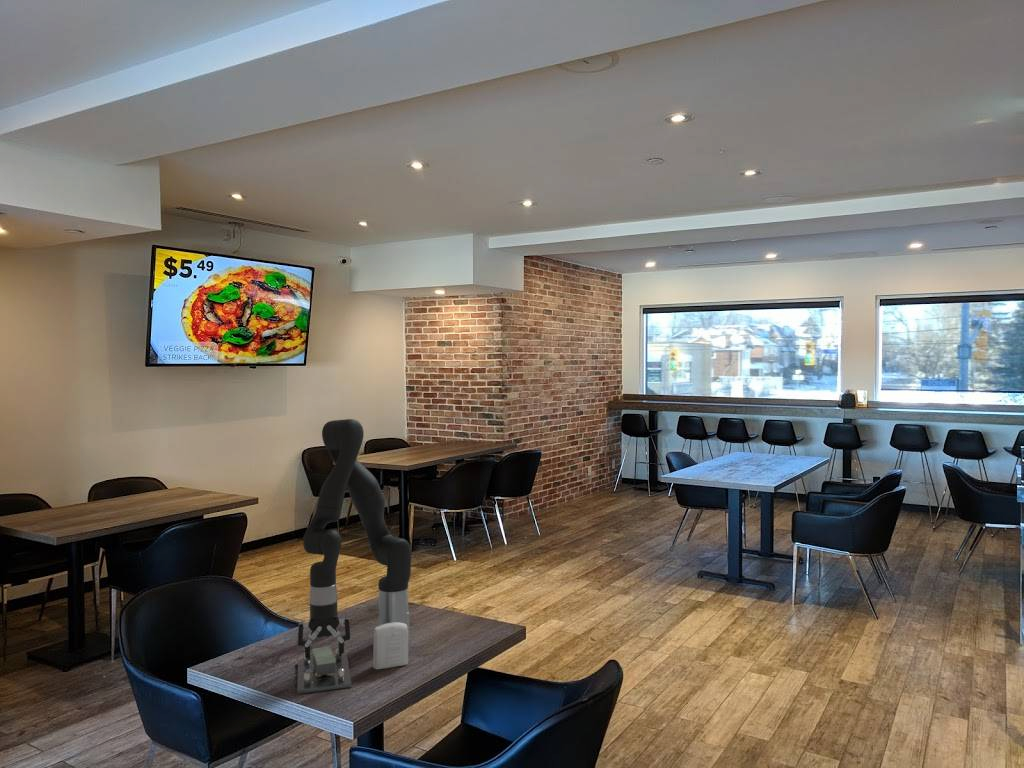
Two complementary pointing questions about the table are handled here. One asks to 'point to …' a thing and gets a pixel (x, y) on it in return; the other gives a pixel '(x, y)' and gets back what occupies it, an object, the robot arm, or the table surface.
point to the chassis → (323, 676)
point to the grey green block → (323, 660)
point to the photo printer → (390, 645)
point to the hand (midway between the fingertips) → (324, 657)
